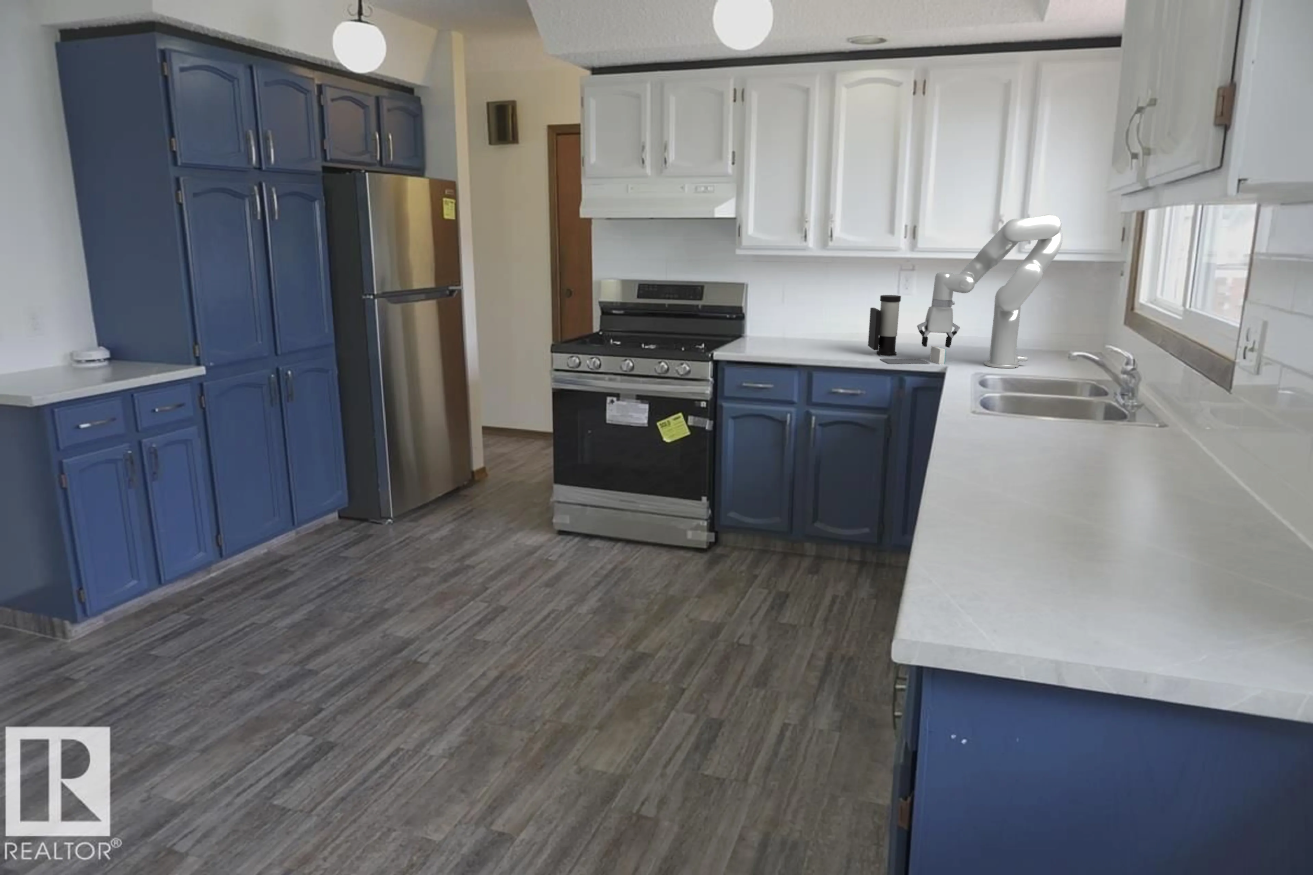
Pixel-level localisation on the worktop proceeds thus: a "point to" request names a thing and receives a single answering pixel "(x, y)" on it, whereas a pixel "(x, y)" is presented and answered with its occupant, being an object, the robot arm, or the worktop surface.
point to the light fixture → (884, 325)
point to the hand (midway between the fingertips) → (935, 346)
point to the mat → (905, 361)
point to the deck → (938, 354)
